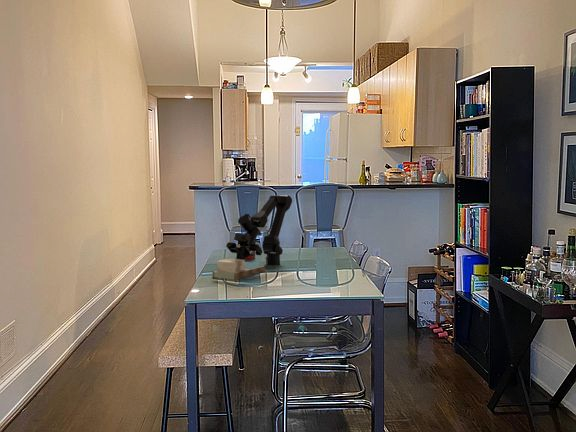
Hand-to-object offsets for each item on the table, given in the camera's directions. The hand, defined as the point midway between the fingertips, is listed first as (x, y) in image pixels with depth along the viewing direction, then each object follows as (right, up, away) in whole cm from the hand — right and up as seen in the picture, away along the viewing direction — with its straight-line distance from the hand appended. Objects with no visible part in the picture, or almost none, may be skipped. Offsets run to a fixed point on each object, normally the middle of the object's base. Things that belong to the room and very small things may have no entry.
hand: (236, 262), depth 271 cm
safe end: (-2, -7, -3) cm, 8 cm away
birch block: (-2, -6, -3) cm, 7 cm away
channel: (+1, -7, +2) cm, 7 cm away
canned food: (+2, -2, +50) cm, 50 cm away
